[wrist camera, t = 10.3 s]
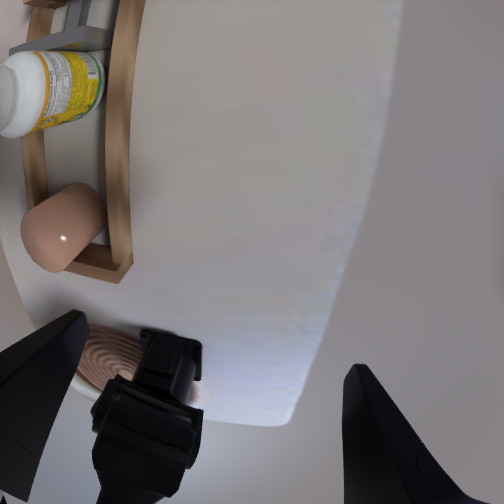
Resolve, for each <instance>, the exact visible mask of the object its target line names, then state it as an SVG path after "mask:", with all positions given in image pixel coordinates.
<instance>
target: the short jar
mask: <svg viewBox="0 0 504 504" xmlns="http://www.w3.org/2000/svg"><path fill="white" fill-rule="evenodd" d="M105 223H106V210H105V206H104V204H103V201H102V199H101V198H100V196H99V195H98V193H97V192H96V191H95V190H94V189H93V188H92V187H90V186H88V185H86V184H84V183H73V184H70V185H69V186H67V187H65V188H64V189H62V190H60V191H59V192H57V193H56V194H54V195H53V196H51V197H49V198H48V199H46V200H45V201H43V202H42V203H40V204H39V205H37V206H36V207H34V208H33V209H31V210H30V211H28V212H27V213H26V214H25V215H24V216H23V218H22V221H21V227H20V228H21V237H22V241H23V244H24V246H25V248H26V250H27V252H28V254H29V255H30V257H31V258H32V259H33V260H34V261H35V262H36V263H37V264H38V265H39V266H40V267H41V268H43V269H45V270H47V271H49V272H53V273H57V272H61V271H63V270H64V269H65V268H66V267H67V266H68V265H69V264H70V263H71V261H72V260H73V259H74V258H75V257H76V256H77V255H78V254H79V253H80V252H81V251H82V250H83V249H84V248H85V247H86V246H87V245H88V244H89V243H90V242H91V241H92V240H93V239H94V238H95V237H96V236H97V235H99V234H100V233H101V232H102V230H103V228H104V226H105Z"/></svg>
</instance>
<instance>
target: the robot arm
mask: <svg viewBox="0 0 504 504" xmlns="http://www.w3.org/2000/svg"><path fill="white" fill-rule="evenodd" d="M139 335H140V341H141V346H142V351H143V356H142V358H141V360H140V362H139V365H138V367H137V369H136V371H135V374H134V376H133V378H132V381H129V380H127V379H125V378H123V377H122V376H121V375H119V374H117V375H116V377H115V378H114V379H109V380H108V382H107V384H106V386H105V388H104V390H103V392H102V394H101V395H100V396H99V398H98V399H97V401H96V402H95V404H94V405H93V407H92V409H91V411H90V412H91V415H92V418H93V422H92V423H93V426H92V431H93V432H95V433H97V434H98V435H97V438H96V441H95V443H94V447H93V449H92V460H93V465H94V469H95V470H96V472H97V475H98V478H99V482H100V485H101V490H100V493H99V497H98V500H97V503H96V504H155V503H156V502H158V501H159V500H161V499H162V498H164V497H168V498H170V497H171V496H172V495H173V494H175V493H176V492H177V491H178V489H179V486H180V482H181V480H182V477H183V475H184V472H185V469H190V468H191V467H192V466H193V464H194V462H195V460H196V458H197V455H198V452H199V448H200V442H201V432H202V421H203V412H204V410H201V409H196V408H193V407H190V406H188V405H187V401H188V397H189V394H190V390H191V387H192V383H193V380H194V381H200V380H201V377H202V347H203V346H202V344H201V343H200V342H196V341H191V340H187V339H182V338H178V337H173V336H169V335H165V334H160V333H156V332H152V331H148V330H144V329H143V330H141V331H140V334H139ZM88 336H89V326H88V322H87V319H86V316H85V314H84V312H82V311H79V310H75V309H74V310H71V311H69V312H68V313H66V314H64V315H62V316H61V317H59V318H57V319H55V320H54V321H52V322H50V323H49V324H47V325H45V326H43V327H42V328H40V329H38V330H37V331H35V332H33V333H31V334H30V335H28V336H26V337H25V338H23V339H21V340H20V341H18V342H16V343H15V344H13V345H11V346H10V347H8V348H7V349H5V350H3V351H2V352H0V504H7V503H6V500H5V497H4V495H3V494H4V492H6V493H8V494H10V495H12V496H14V497H16V498H18V499H20V500H23V501H25V502H27V501H28V499H29V495H30V491H31V487H32V484H33V481H34V478H35V474H36V471H37V468H38V465H39V462H40V458H41V456H42V453H43V450H44V447H45V444H46V442H47V439H48V436H49V434H50V431H51V428H52V426H53V423H54V421H55V418H56V416H57V413H58V411H59V408H60V406H61V403H62V401H63V399H64V396H65V394H66V392H67V390H68V387H69V385H70V383H71V381H72V379H73V376H74V374H75V372H76V369H77V367H78V364H79V361H80V358H81V355H82V352H83V350H84V347H85V344H86V341H87V339H88ZM342 440H343V463H344V464H343V465H344V504H489V503H485V502H482V501H479V500H476V499H473V498H471V497H469V496H468V495H466V494H465V493H464V492H463V491H462V490H461V489H460V488H459V487H458V486H457V485H456V484H455V482H454V481H453V480H452V479H451V478H450V477H449V475H448V474H447V473H446V472H445V471H444V470H443V469H442V467H441V466H440V465H439V464H438V463H437V461H436V460H435V459H434V457H433V456H432V455H431V453H430V452H429V451H428V449H427V448H426V446H425V445H424V443H423V442H422V441H421V440H420V438H419V436H418V435H417V434H416V432H415V431H414V429H413V428H412V427H411V425H410V424H409V422H408V421H407V420H406V418H405V417H404V415H403V414H402V413H401V411H400V410H399V408H398V407H397V406H396V404H395V403H394V401H393V400H392V399H391V397H390V396H389V395H388V393H387V392H386V391H385V389H384V388H383V386H382V385H381V384H380V382H379V381H378V380H377V378H376V377H375V375H374V374H373V373H372V372H371V370H370V369H369V367H368V366H367V365H366V364H354V365H353V366H352V367H351V369H350V371H349V372H348V374H347V375H346V377H345V379H344V385H343V409H342ZM421 442H422V443H421Z"/></svg>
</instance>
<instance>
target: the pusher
mask: <svg viewBox="0 0 504 504" xmlns="http://www.w3.org/2000/svg"><path fill="white" fill-rule="evenodd" d="M90 3H91V0H71V2H70V7H69V11H68V16H67V22H66V27H65V31H61V32H57V33H54V34H51V35H47V36H44V37H41V38H38V39H35V40H32V41H30V42H27V43H24V44H21V45H19V46H16V47H14V48H11V49H10V51H9V57H10V56H11V55H13V54H15V53H17V52H22V51H73V52H87V51H93V50H100V49H107V48H112V44H113V37H114V32H113V31H109V30H105V29H100V28H96V27H91V26H86V23H87V18H88V13H89V8H90Z"/></svg>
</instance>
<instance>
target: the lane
mask: <svg viewBox="0 0 504 504" xmlns="http://www.w3.org/2000/svg"><path fill="white" fill-rule="evenodd" d="M66 2H67V0H23V4H27V5H33V9H32V13H31V18H30V23H29V29H28V35H27V41H26V43H27V42H30V41H32V40H35V39H38V38H41V37H44V36H47V35H50V30H51V24H52V19H53V14H54V9H56V8H59V7H62V6H65V5H66ZM144 5H145V0H120V4H119V9H118V14H117V19H116V25H115V30H114V37H113V44H112V51H111V59H110V68H109V78H108V89H107V105H106V130H105V166H106V193H107V208H108V221H109V232H110V241H111V247H108V246H103V245H98V244H93V243H89V244H88V245H87V246H86V247H85V248H84V249H83V250H82V251H81V252H80V253H79V254H78V255H77V256H76V257H75V258H74V259H73V260H72V261H71V263H70V264H69V265H68V266H67V267H66V268H65V269H64V270H65V271H68V272H72V273H76V274H80V275H83V276H87V277H91V278H95V279H99V280H103V281H107V282H111V283H115V284H119V282H120V281H121V279H122V278H123V277H124V275H125V274H126V273H127V271H128V270H129V269H130V267H131V266H132V265H133V254H132V241H131V226H130V204H129V136H130V115H131V100H132V88H133V78H134V68H135V60H136V52H137V45H138V38H139V32H140V26H141V20H142V15H143V10H144ZM22 152H23V164H24V174H25V183H26V190H27V197H28V204H29V210H31V209H33V208H34V207H36V206H37V205H39V204H40V203H42V202H43V201H45V200H46V199H48V190H47V181H46V171H45V158H44V137H43V130H40V131H37V132H34V133H31V134H28V135H25V136H22ZM33 261H34V260H33ZM34 262H35V261H34Z"/></svg>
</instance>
